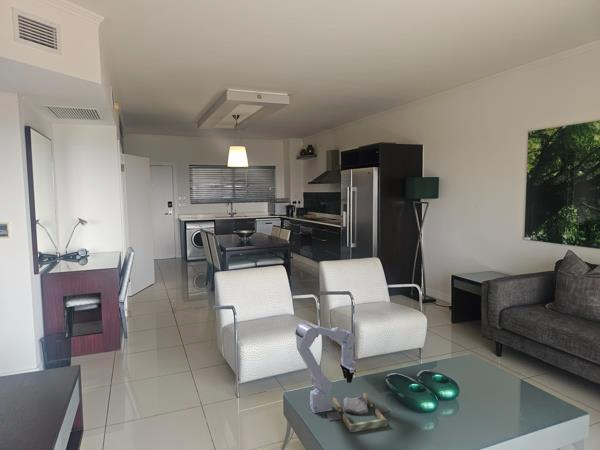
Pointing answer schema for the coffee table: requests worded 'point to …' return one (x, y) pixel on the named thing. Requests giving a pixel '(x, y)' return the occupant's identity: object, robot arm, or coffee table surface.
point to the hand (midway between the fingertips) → (347, 380)
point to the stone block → (355, 405)
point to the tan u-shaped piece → (363, 425)
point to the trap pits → (336, 416)
